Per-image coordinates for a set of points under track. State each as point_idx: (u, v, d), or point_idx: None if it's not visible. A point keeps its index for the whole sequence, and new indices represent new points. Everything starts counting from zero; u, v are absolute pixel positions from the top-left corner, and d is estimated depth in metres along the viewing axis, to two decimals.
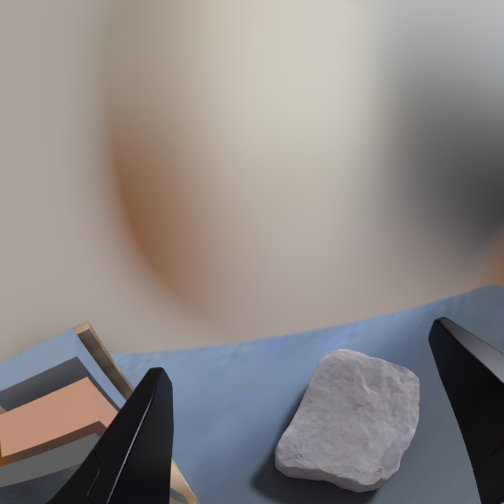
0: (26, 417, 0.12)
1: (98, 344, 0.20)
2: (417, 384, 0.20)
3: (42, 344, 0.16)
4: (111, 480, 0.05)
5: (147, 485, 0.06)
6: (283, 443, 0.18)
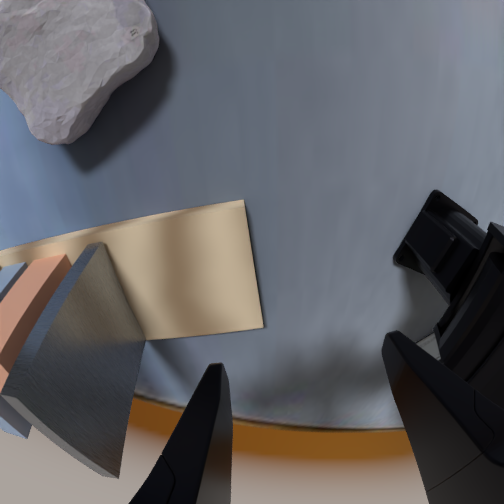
0: None
1: None
2: None
3: None
4: (188, 487, 0.05)
5: (217, 488, 0.06)
6: (38, 132, 0.12)
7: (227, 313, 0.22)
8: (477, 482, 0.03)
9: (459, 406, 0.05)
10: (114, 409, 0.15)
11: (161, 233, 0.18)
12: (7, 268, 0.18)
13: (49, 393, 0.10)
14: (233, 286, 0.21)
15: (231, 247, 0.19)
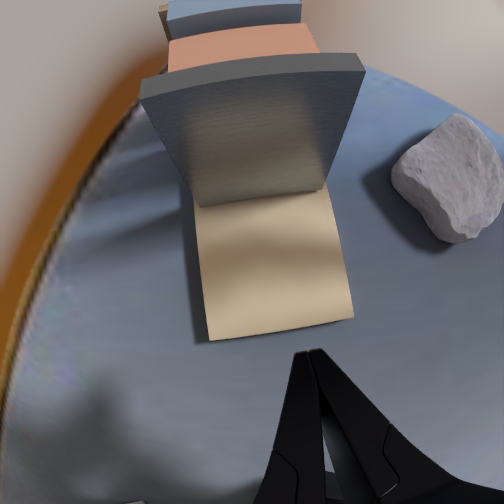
0: (216, 41, 0.13)
1: None
2: None
3: None
4: (311, 478, 0.05)
5: None
6: (411, 153, 0.20)
7: (233, 301, 0.20)
8: None
9: (367, 441, 0.05)
10: (204, 144, 0.14)
11: (328, 243, 0.21)
12: None
13: (323, 94, 0.11)
14: (269, 308, 0.20)
15: (315, 306, 0.20)
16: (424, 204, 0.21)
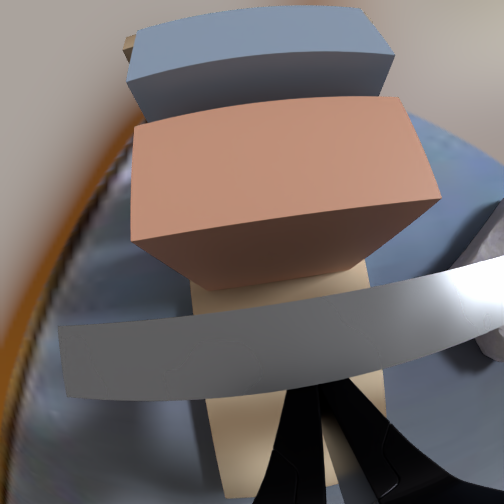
0: (231, 138, 0.07)
1: None
2: None
3: (289, 8, 0.08)
4: (310, 478, 0.05)
5: None
6: None
7: (252, 465, 0.14)
8: None
9: (366, 441, 0.05)
10: None
11: (371, 399, 0.15)
12: None
13: None
14: None
15: None
16: None
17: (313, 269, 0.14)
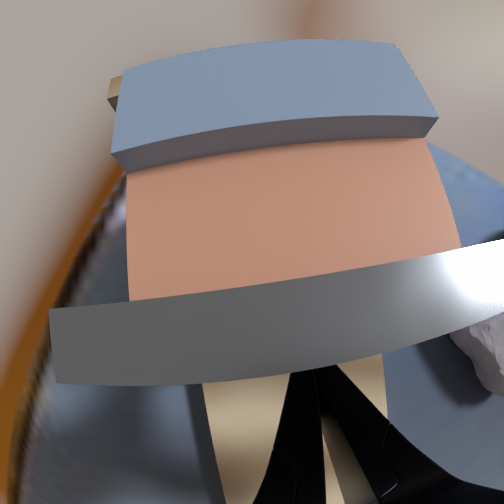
0: (238, 194, 0.07)
1: None
2: None
3: (311, 44, 0.07)
4: (310, 478, 0.05)
5: None
6: None
7: None
8: None
9: (366, 441, 0.05)
10: None
11: None
12: None
13: None
14: None
15: None
16: (480, 360, 0.14)
17: None
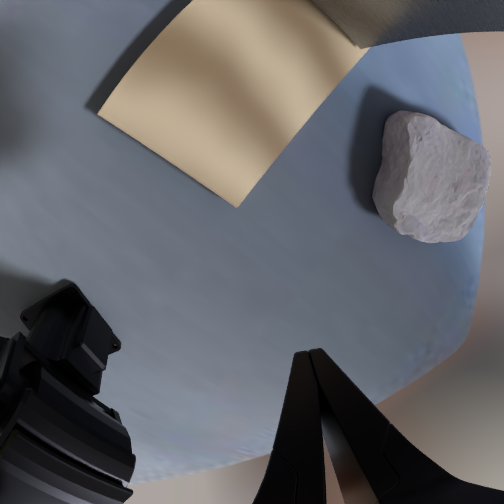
0: None
1: None
2: (455, 239, 0.23)
3: None
4: (310, 478, 0.05)
5: None
6: (429, 121, 0.16)
7: (150, 95, 0.14)
8: None
9: (367, 441, 0.05)
10: None
11: (282, 129, 0.17)
12: None
13: None
14: (175, 130, 0.15)
15: (214, 167, 0.17)
16: (393, 162, 0.19)
17: None
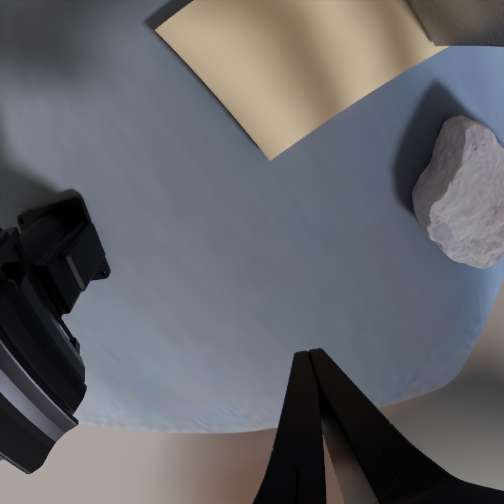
0: None
1: None
2: (480, 266, 0.20)
3: None
4: (310, 478, 0.05)
5: None
6: (488, 134, 0.14)
7: (213, 25, 0.12)
8: None
9: (367, 441, 0.05)
10: None
11: (338, 95, 0.14)
12: None
13: None
14: (228, 65, 0.13)
15: (259, 112, 0.15)
16: (442, 163, 0.16)
17: None
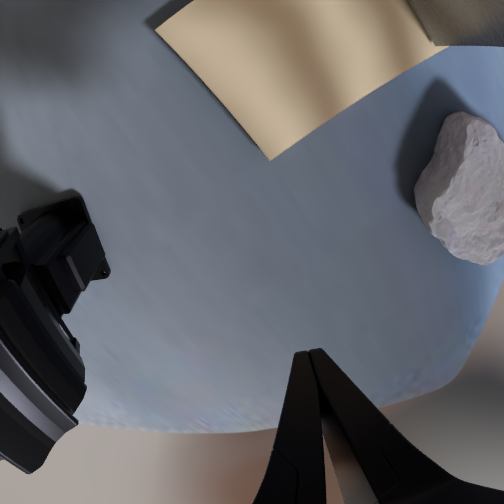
0: None
1: None
2: (482, 263, 0.20)
3: None
4: (310, 477, 0.05)
5: None
6: (489, 129, 0.13)
7: (213, 25, 0.12)
8: None
9: (367, 441, 0.05)
10: None
11: (338, 95, 0.14)
12: None
13: None
14: (228, 65, 0.13)
15: (259, 112, 0.15)
16: (444, 159, 0.16)
17: None
